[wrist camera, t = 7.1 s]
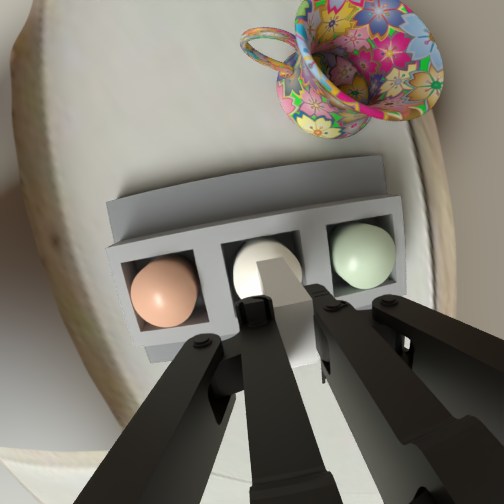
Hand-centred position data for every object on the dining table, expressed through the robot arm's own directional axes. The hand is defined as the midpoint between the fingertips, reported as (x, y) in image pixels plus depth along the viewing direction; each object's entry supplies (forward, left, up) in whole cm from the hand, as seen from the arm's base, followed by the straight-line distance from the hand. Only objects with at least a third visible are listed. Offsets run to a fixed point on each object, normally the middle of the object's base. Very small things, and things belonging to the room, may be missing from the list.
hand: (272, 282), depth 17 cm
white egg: (0, 0, -6) cm, 6 cm away
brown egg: (0, -7, -6) cm, 9 cm away
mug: (-13, +6, -8) cm, 17 cm away
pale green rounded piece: (0, +7, -6) cm, 9 cm away
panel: (0, 0, -8) cm, 8 cm away
